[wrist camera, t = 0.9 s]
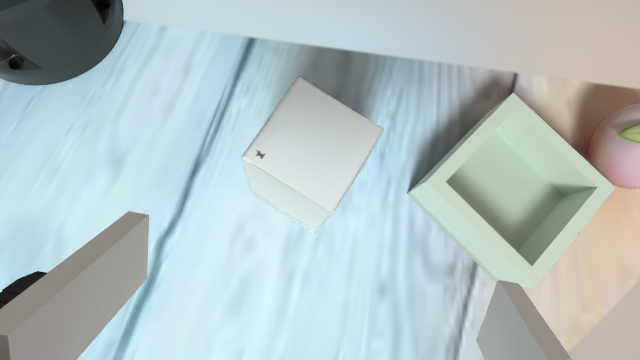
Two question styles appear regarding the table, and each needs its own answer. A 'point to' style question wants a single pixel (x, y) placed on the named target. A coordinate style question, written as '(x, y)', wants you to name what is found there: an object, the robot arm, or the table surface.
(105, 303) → the robot arm
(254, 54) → the table surface
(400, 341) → the table surface
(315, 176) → the supplement box
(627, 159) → the decorative fruit
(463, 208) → the open square container
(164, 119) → the table surface
